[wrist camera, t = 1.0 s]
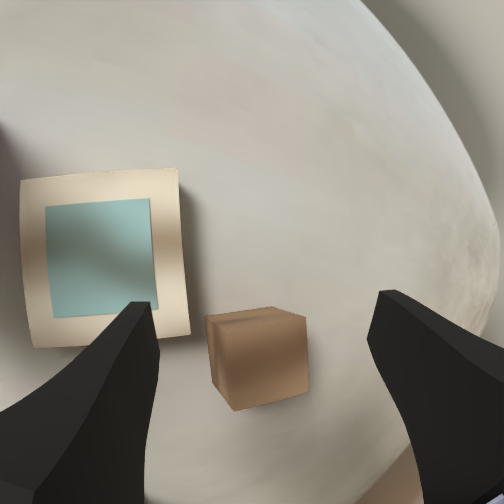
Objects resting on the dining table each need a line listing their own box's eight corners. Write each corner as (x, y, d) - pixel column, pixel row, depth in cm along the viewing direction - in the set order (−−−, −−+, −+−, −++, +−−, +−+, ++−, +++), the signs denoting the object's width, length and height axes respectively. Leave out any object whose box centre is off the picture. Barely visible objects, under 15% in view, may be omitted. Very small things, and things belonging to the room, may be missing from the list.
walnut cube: (275, 369, 24) (308, 391, 19) (212, 382, 22) (234, 411, 17) (270, 306, 23) (305, 317, 19) (204, 315, 22) (225, 331, 17)
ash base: (184, 326, 21) (191, 334, 19) (43, 338, 17) (32, 348, 15) (172, 177, 21) (177, 167, 18) (31, 188, 17) (19, 179, 15)
